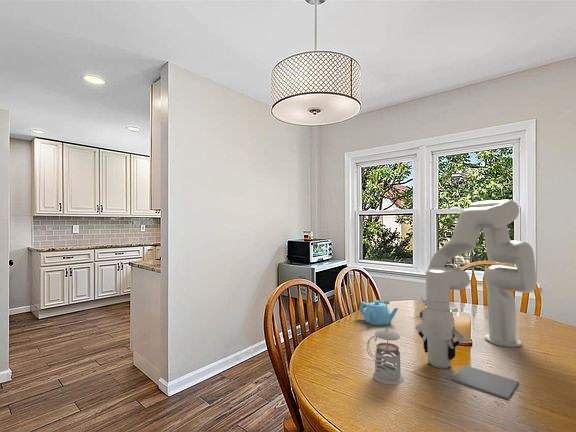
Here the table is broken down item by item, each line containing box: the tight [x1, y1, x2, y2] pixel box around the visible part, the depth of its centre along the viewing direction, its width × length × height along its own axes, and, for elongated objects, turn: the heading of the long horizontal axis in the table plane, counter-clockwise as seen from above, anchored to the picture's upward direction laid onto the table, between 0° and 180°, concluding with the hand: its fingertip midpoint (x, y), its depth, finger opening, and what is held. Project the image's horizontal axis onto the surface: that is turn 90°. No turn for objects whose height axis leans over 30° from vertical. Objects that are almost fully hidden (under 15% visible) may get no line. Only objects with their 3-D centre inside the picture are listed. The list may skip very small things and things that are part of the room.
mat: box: [451, 365, 519, 401], centre depth 97 cm, size 13×15×1 cm
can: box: [427, 332, 452, 369], centre depth 109 cm, size 8×8×12 cm
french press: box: [366, 299, 405, 386], centre depth 101 cm, size 10×12×25 cm
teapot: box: [358, 299, 399, 327], centre depth 156 cm, size 15×15×11 cm
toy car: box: [418, 297, 459, 318], centre depth 161 cm, size 18×10×12 cm
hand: (439, 354), depth 109 cm, fingers closed on can, 7 cm apart
